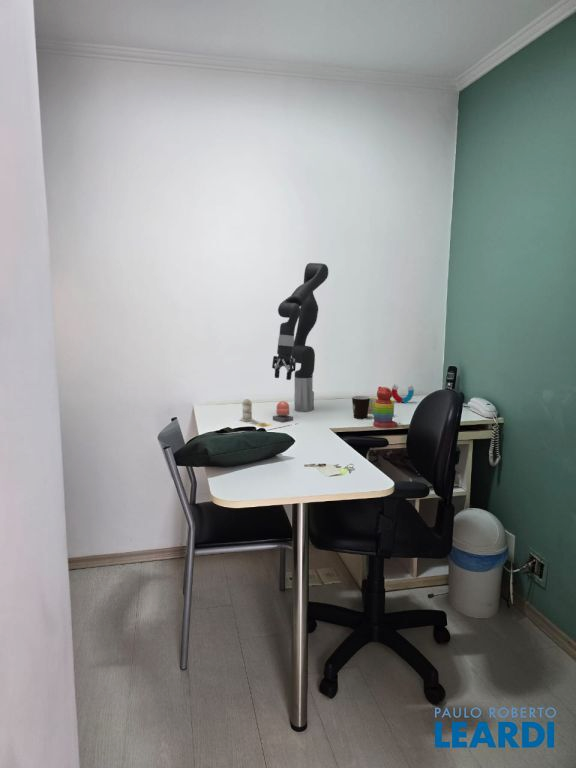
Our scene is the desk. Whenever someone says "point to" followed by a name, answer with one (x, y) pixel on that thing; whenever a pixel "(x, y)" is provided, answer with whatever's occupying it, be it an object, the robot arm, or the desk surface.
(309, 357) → the robot arm
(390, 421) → the stacking bear
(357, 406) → the coffee mug
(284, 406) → the dome
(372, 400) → the candy box
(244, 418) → the pawn
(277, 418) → the game board
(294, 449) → the desk surface
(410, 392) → the magnet
